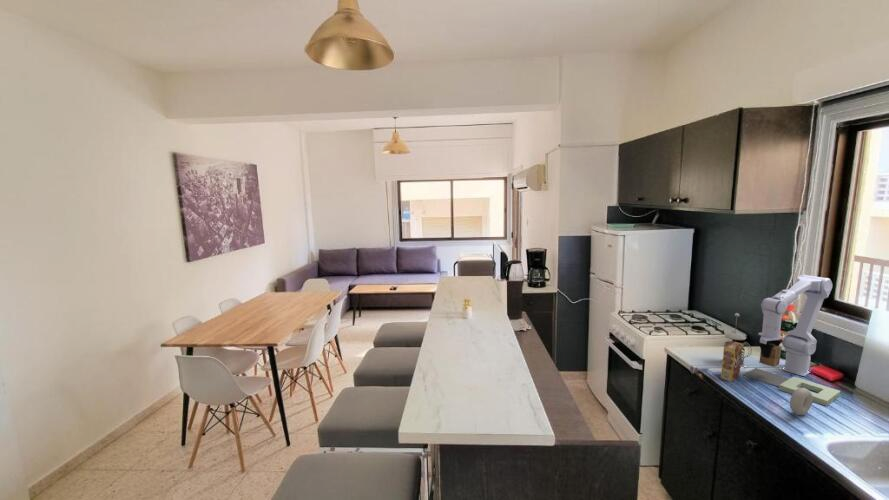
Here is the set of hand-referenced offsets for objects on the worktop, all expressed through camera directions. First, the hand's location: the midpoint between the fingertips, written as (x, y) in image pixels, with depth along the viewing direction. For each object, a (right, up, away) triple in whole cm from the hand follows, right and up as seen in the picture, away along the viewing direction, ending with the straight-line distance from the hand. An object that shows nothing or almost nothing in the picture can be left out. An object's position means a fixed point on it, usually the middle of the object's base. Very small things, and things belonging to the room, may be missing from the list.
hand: (768, 355), depth 156 cm
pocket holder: (+6, -12, -11) cm, 17 cm away
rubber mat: (0, -10, +1) cm, 10 cm away
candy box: (-15, -11, +2) cm, 18 cm away
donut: (-11, -14, -25) cm, 31 cm away
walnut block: (0, -3, 0) cm, 3 cm away
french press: (-3, -9, +14) cm, 17 cm away
